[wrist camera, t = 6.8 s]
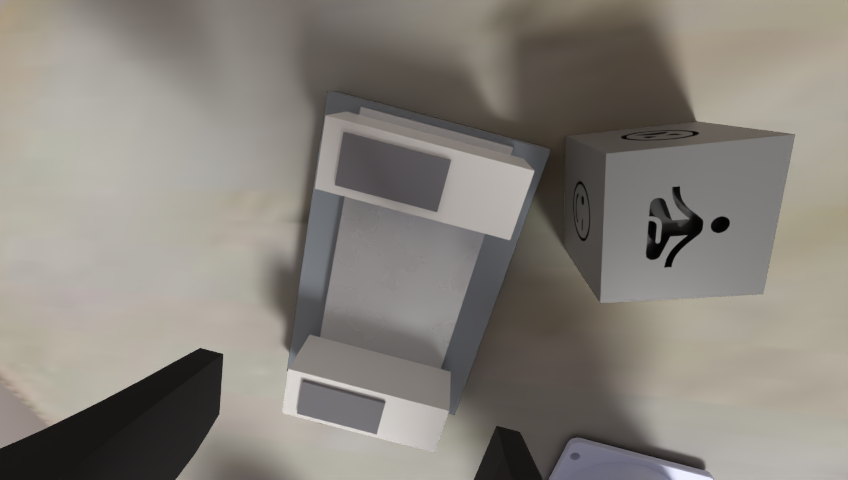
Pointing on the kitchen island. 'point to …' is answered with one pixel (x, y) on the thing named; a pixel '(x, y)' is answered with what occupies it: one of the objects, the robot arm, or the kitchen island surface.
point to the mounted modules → (418, 195)
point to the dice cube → (674, 209)
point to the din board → (404, 264)
